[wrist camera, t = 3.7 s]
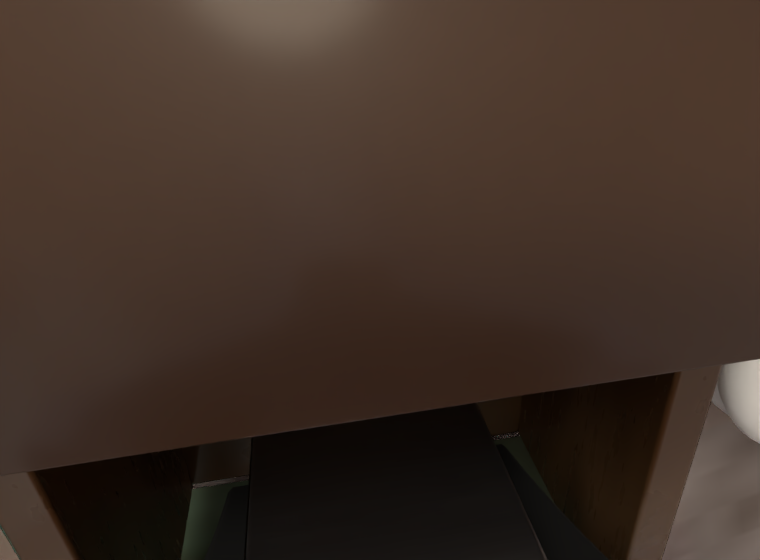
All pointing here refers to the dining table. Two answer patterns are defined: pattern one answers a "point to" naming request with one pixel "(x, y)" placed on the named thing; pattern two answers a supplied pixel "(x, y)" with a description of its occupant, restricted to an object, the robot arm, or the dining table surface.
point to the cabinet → (362, 210)
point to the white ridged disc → (740, 396)
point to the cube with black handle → (386, 492)
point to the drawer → (516, 414)
